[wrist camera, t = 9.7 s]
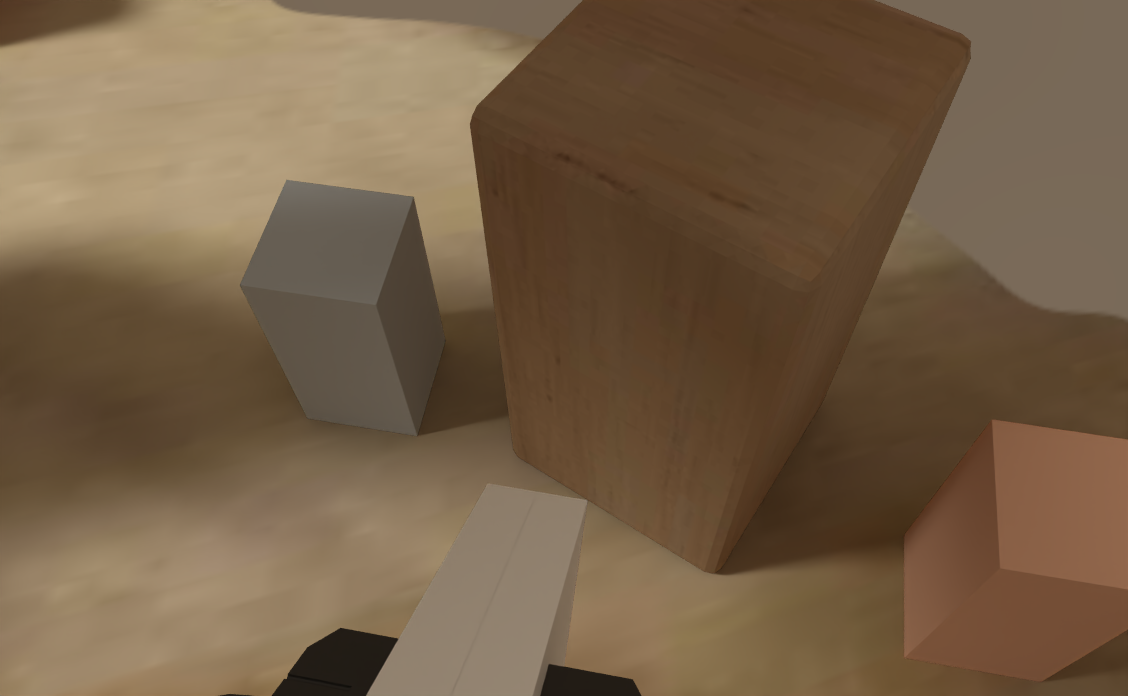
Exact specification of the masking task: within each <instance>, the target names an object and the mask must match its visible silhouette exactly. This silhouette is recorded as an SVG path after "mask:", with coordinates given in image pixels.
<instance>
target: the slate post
mask: <svg viewBox="0 0 1128 696" xmlns="http://www.w3.org/2000/svg"><path fill="white" fill-rule="evenodd" d="M240 287H241V289H242V290H243V292H244V294H245V296H246V298H247V300H248V302H249V304H250V306H251V308H252V310H253V312H254V314H255V316H256V318H257V320H258V322H259V324H260V326H261V328H262V330H263V332H264V334H265V336H266V338H267V340H268V342H269V344H270V346H271V348H272V350H273V351H274V353H275V355H276V357H277V359H278V361H279V363H280V365H281V367H282V369H283V371H284V373H285V375H286V377H287V379H288V381H289V383H290V385H291V387H292V389H293V391H294V393H295V395H296V397H297V399H298V401H299V403H300V405H301V407H302V409H303V411H304V413H305V414H306V416H307V418H308V419H313V420H320V421H326V422H332V423H338V424H345V425H351V426H357V427H363V428H369V429H376V430H382V431H388V432H394V433H401V434H407V435H413V436H418V432H419V429H420V425H421V422H422V419H423V415H424V412H425V408H426V405H427V402H428V398H429V395H430V392H431V388H432V385H433V381H434V378H435V375H436V371H437V368H438V364H439V361H440V358H441V354H442V351H443V348H444V344H445V336H444V332H443V327H442V323H441V318H440V314H439V309H438V305H437V300H436V296H435V291H434V287H433V282H432V277H431V273H430V268H429V264H428V259H427V255H426V250H425V246H424V241H423V237H422V232H421V228H420V223H419V219H418V214H417V210H416V205H415V201H414V197H411V196H404V195H396V194H389V193H381V192H374V191H366V190H359V189H351V188H344V187H336V186H328V185H321V184H313V183H306V182H298V181H291V180H286V182H285V185H284V187H283V189H282V191H281V194H280V196H279V198H278V200H277V203H276V205H275V207H274V209H273V212H272V214H271V216H270V218H269V221H268V223H267V225H266V227H265V230H264V232H263V234H262V236H261V239H260V241H259V243H258V245H257V248H256V250H255V252H254V254H253V257H252V259H251V261H250V263H249V266H248V268H247V270H246V272H245V275H244V277H243V279H242V281H241V284H240Z"/></svg>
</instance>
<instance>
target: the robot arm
mask: <svg viewBox="0 0 1128 696" xmlns="http://www.w3.org/2000/svg"><path fill="white" fill-rule="evenodd" d="M587 502H588V500H584V499H578V498H572V497H566V496H560V495H554V494H549V493H543V492H537V491H531V490H525V489H519V488H513V487H507V486H502V485H496V484H490V483H488V484H487V485H486V487H485V489H484V491H483V492H482V494H481V496H480V498H479V499H478V501H477V503H476V505H475V506H474V508H473V510H472V512H471V513H470V515H469V517H468V519H467V520H466V522H465V524H464V526H463V527H462V529H461V531H460V533H459V534H458V536H457V538H456V540H455V541H454V543H453V545H452V547H451V548H450V550H449V552H448V554H447V555H446V557H445V559H444V561H443V562H442V564H441V566H440V568H439V569H438V571H437V573H436V575H435V576H434V578H433V580H432V581H431V583H430V585H429V587H428V588H427V590H426V592H425V594H424V595H423V597H422V599H421V601H420V602H419V604H418V606H417V608H416V609H415V611H414V613H413V615H412V616H411V618H410V620H409V622H408V623H407V625H406V627H405V629H404V630H403V632H402V634H401V636H400V637H399V639H397V638H392V637H386V636H381V635H376V634H370V633H365V632H360V631H354V630H349V629H344V628H340V629H338V630H336V631H335V632H333V633H331V634H329V635H328V636H326V637H324V638H323V639H321V640H319V641H317V642H316V643H314V644H312V645H311V646H309V647H307V649H306V650H305V651H304V653H303V654H302V655H301V657H300V658H299V660H298V661H297V662H296V664H295V665H294V666H293V668H292V669H291V670H290V672H289V673H288V677H287V679H284V680H283V681H282V683H281V684H280V685H279V687H278V688H277V689H276V691H275V692H274V693H273V695H272V696H641V694H640V692H639V690H638V688H637V687H636V685H635V683H634V681H633V679H627V678H622V677H617V676H611V675H606V674H601V673H595V672H590V671H585V670H579V669H574V668H569V667H564V663H565V656H566V649H567V642H568V635H569V628H570V621H571V614H572V607H573V600H574V593H575V586H576V579H577V572H578V565H579V558H580V551H581V544H582V537H583V530H584V523H585V516H586V509H587ZM220 696H250V695H236V694H227V695H220Z"/></svg>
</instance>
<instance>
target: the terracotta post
mask: <svg viewBox="0 0 1128 696" xmlns="http://www.w3.org/2000/svg"><path fill="white" fill-rule="evenodd" d="M1126 630H1128V439H1121V438H1114V437H1107V436H1101V435H1094V434H1087V433H1081V432H1074V431H1067V430H1061V429H1054V428H1047V427H1040V426H1034V425H1027V424H1020V423H1014V422H1007V421H1000V420H993V419H992V420H991V421H990V423H989V424H988V425H987V426H986V428H985V429H984V430H983V432H982V433H981V434H980V436H979V437H978V438H977V440H976V441H975V442H974V444H973V445H972V446H971V448H970V449H969V450H968V451H967V453H966V454H965V455H964V457H963V458H962V459H961V461H960V462H959V463H958V465H957V466H956V467H955V469H954V470H953V471H952V473H951V474H950V475H949V477H948V478H947V479H946V480H945V482H944V483H943V484H942V486H941V487H940V488H939V490H938V491H937V492H936V494H935V495H934V496H933V498H932V499H931V500H930V502H929V503H928V504H927V505H926V507H925V508H924V509H923V511H922V512H921V513H920V515H919V516H918V517H917V519H916V520H915V521H914V523H913V524H912V525H911V527H910V528H909V529H908V530H907V532H906V533H905V534H904V658H907V659H912V660H918V661H924V662H929V663H935V664H941V665H946V666H952V667H958V668H963V669H969V670H975V671H980V672H986V673H992V674H997V675H1003V676H1008V677H1014V678H1020V679H1025V680H1031V681H1037V682H1042V681H1044V680H1045V679H1047V678H1049V677H1050V676H1052V675H1054V674H1055V673H1057V672H1058V671H1060V670H1062V669H1063V668H1065V667H1067V666H1068V665H1070V664H1072V663H1073V662H1075V661H1077V660H1078V659H1080V658H1082V657H1083V656H1085V655H1087V654H1088V653H1090V652H1092V651H1093V650H1095V649H1097V648H1098V647H1100V646H1102V645H1103V644H1105V643H1107V642H1108V641H1110V640H1111V639H1113V638H1115V637H1116V636H1118V635H1120V634H1121V633H1123V632H1125V631H1126Z"/></svg>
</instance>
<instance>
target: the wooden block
mask: <svg viewBox="0 0 1128 696" xmlns="http://www.w3.org/2000/svg"><path fill="white" fill-rule="evenodd" d="M970 47H971V41H970V40H968V39H967V38H966V37H965V36H964V35H963V34H961V33H958V32H955V31H953V30H950V29H947V28H945V27H943V26H940V25H937V24H934V23H932V22H929V21H927V20H924V19H922V18H919V17H916V16H914V15H911V14H909V13H906V12H903V11H901V10H898V9H896V8H893V7H890V6H887V5H885V4H883V3H880V2H877V1H875V0H583V1H582V2H581V3H580V4H579V5H578V6H577V7H576V8H575V9H574V10H573V11H572V12H571V13H570V14H569V15H568V16H567V17H566V18H565V19H564V20H563V21H562V22H561V23H560V24H559V25H558V26H557V27H556V28H555V29H554V30H553V31H552V32H551V33H550V34H549V35H548V36H547V37H546V38H545V39H544V40H543V41H542V42H541V43H540V44H539V45H538V46H537V47H536V48H535V49H534V50H533V51H532V52H531V53H530V54H529V55H528V56H527V57H526V58H525V59H524V60H523V61H522V62H521V63H520V64H519V65H518V66H517V67H516V68H515V69H514V70H513V71H512V72H511V73H510V74H509V75H508V76H507V77H506V78H504V79H503V80H502V81H501V82H500V83H499V84H498V85H497V86H496V87H495V88H494V89H493V90H492V91H491V92H490V93H489V94H488V95H487V96H486V97H485V98H484V99H483V100H482V101H481V102H480V103H479V104H478V105H477V107H476V109H475V111H474V113H473V115H472V119H471V122H470V129H471V136H472V144H473V151H474V159H475V166H476V173H477V181H478V188H479V196H480V203H481V211H482V218H483V226H484V233H485V241H486V248H487V256H488V263H489V271H490V278H491V286H492V293H493V301H494V308H495V315H496V323H497V330H498V338H499V345H500V353H501V360H502V368H503V375H504V383H505V390H506V398H507V405H508V413H509V420H510V428H511V435H512V443H513V450H514V452H515V453H516V454H517V456H518V457H519V458H521V459H522V460H524V461H526V462H527V463H529V464H531V465H532V466H534V467H535V468H537V469H539V470H540V471H542V472H544V473H545V474H547V475H548V476H550V477H552V478H553V479H555V480H557V481H558V482H560V483H561V484H563V485H565V486H566V487H568V488H570V489H571V490H573V491H574V492H576V493H578V494H579V495H581V496H582V497H584V498H586V499H587V500H589V501H591V502H592V503H594V504H595V505H597V506H599V507H600V508H602V509H604V510H605V511H607V512H608V513H610V514H612V515H613V516H615V517H617V518H618V519H620V520H621V521H623V522H625V523H626V524H628V525H630V526H631V527H633V528H634V529H636V530H638V531H639V532H641V533H643V534H644V535H646V536H647V537H649V538H651V539H652V540H654V541H656V542H657V543H659V544H660V545H662V546H664V547H665V548H667V549H669V550H670V551H672V552H673V553H675V554H677V555H678V556H680V557H682V558H683V559H685V560H686V561H688V562H690V563H691V564H693V565H694V566H696V567H698V568H699V569H701V570H703V571H704V572H709V573H712V574H713V573H715V572H717V571H718V570H719V569H721V568H722V567H723V565H724V563H725V562H726V560H727V558H728V557H729V555H730V553H731V552H732V550H733V548H734V547H735V545H736V544H737V542H738V540H739V539H740V537H741V535H742V534H743V532H744V530H745V529H746V527H747V525H748V524H749V522H750V521H751V519H752V517H753V516H754V514H755V512H756V511H757V509H758V507H759V506H760V504H761V502H762V501H763V499H764V498H765V496H766V494H767V493H768V491H769V489H770V488H771V486H772V484H773V483H774V481H775V479H776V478H777V476H778V475H779V473H780V471H781V470H782V468H783V466H784V465H785V463H786V461H787V460H788V458H789V456H790V455H791V453H792V452H793V450H794V448H795V447H796V445H797V443H798V442H799V440H800V438H801V437H802V435H803V433H804V432H805V430H806V429H807V427H808V425H809V424H810V422H811V420H812V419H813V417H814V415H815V414H816V412H817V410H818V409H819V407H820V406H821V404H822V402H823V400H824V398H825V396H826V393H827V391H828V389H829V386H830V384H831V382H832V379H833V377H834V375H835V372H836V370H837V368H838V365H839V363H840V361H841V358H842V356H843V354H844V351H845V349H846V347H847V345H848V342H849V340H850V338H851V335H852V333H853V331H854V328H855V326H856V324H857V321H858V319H859V317H860V314H861V312H862V310H863V307H864V305H865V303H866V300H867V298H868V296H869V293H870V291H871V289H872V287H873V284H874V282H875V280H876V277H877V275H878V273H879V270H880V268H881V266H882V263H883V261H884V259H885V256H886V254H887V252H888V249H889V247H890V245H891V242H892V240H893V238H894V235H895V233H896V231H897V229H898V226H899V224H900V222H901V219H902V217H903V215H904V212H905V210H906V208H907V205H908V203H909V201H910V198H911V196H912V193H913V191H914V189H915V187H916V184H917V182H918V180H919V177H920V175H921V173H922V170H923V168H924V166H925V164H926V161H927V159H928V157H929V154H930V152H931V150H932V147H933V145H934V143H935V140H936V138H937V136H938V133H939V131H940V129H941V126H942V124H943V122H944V119H945V117H946V115H947V112H948V110H949V108H950V106H951V103H952V100H953V99H954V96H955V94H956V92H957V89H958V87H959V84H960V82H961V80H962V78H963V75H964V73H965V71H966V68H967V65H968V64H969V61H970V59H971V55H970Z"/></svg>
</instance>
